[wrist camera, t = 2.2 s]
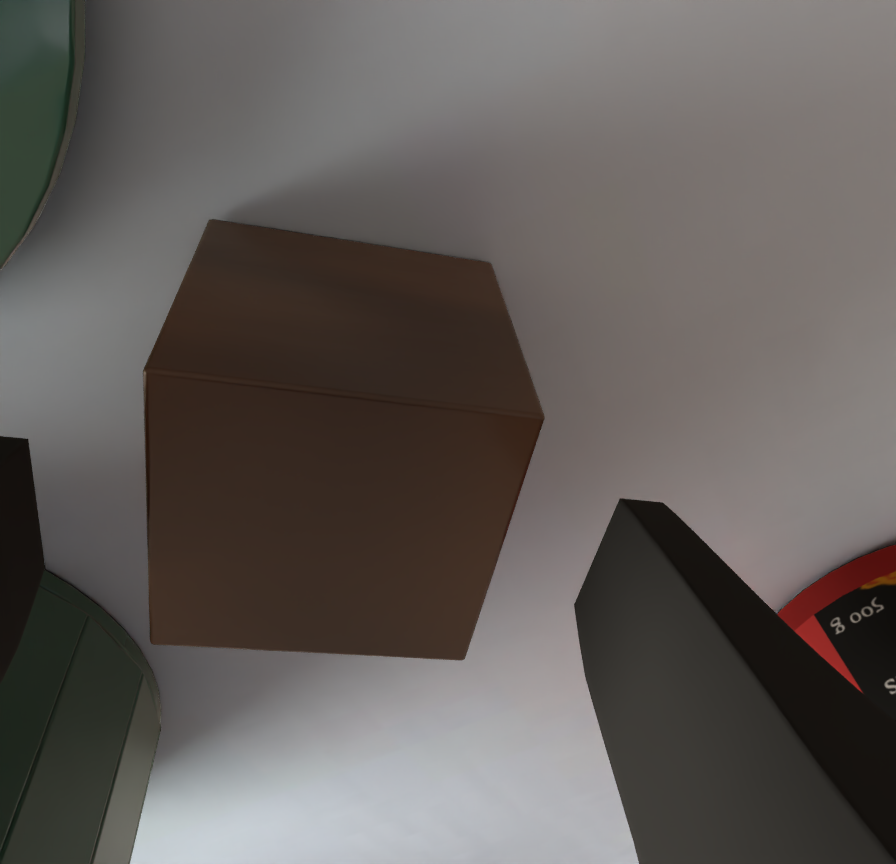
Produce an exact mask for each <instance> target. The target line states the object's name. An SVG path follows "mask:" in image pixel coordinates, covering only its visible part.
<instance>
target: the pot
mask: <svg viewBox="0 0 896 864" xmlns="http://www.w3.org/2000/svg"><path fill="white" fill-rule="evenodd" d="M160 719H161V704H160V696H159V690H158V687H157V684H156V681H155V679H154V676H153V673H152V670H151V668H150V666H149V665H148V663H147V661H146V659H145V658H144V656H143V654H142V652H141V651H140V649H139V648H138V646H137V645H136V644H135V643H134V641H133V640H132V639H131V638H130V636H129V635H128V634H127V633H126V632H125V630H124V629H123V628H122V627H121V626H120V625H119V624H118V623H117V622H116V621H115V620H114V619H113V618H112V617H111V616H109V615H108V614H107V613H106V612H105V611H104V610H103V609H102V608H101V607H100V606H99V605H97V604H96V603H95V602H93V601H92V600H90V599H89V598H88V597H86V596H85V595H84V594H82V593H81V592H80V591H78V590H77V589H76V588H74V587H73V586H71V585H70V584H68V583H66V582H65V581H63V580H61V579H60V578H58V577H56V576H55V575H53V574H51V573H50V572H48V571H46V570H45V569H44V572H43V575H42V578H41V581H40V584H39V588H38V591H37V594H36V597H35V600H34V603H33V606H32V609H31V612H30V615H29V618H28V621H27V624H26V626H25V629H24V632H23V635H22V638H21V641H20V643H19V646H18V648H17V651H16V653H15V655H14V657H13V659H12V661H11V663H10V665H9V667H8V670H7V672H6V674H5V676H4V678H3V680H2V682H1V684H0V864H130V860H131V856H132V852H133V848H134V843H135V839H136V835H137V830H138V826H139V822H140V817H141V813H142V809H143V804H144V800H145V796H146V791H147V787H148V783H149V778H150V774H151V770H152V766H153V761H154V757H155V753H156V748H157V744H158V740H159V735H160V731H161V725H160Z"/></svg>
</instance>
